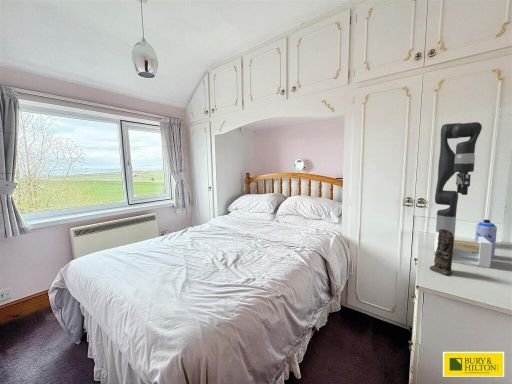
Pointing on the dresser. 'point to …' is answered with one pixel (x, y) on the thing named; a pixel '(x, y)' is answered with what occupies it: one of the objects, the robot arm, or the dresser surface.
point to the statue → (444, 253)
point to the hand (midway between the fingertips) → (461, 193)
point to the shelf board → (466, 245)
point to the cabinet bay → (471, 254)
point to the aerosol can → (487, 234)
